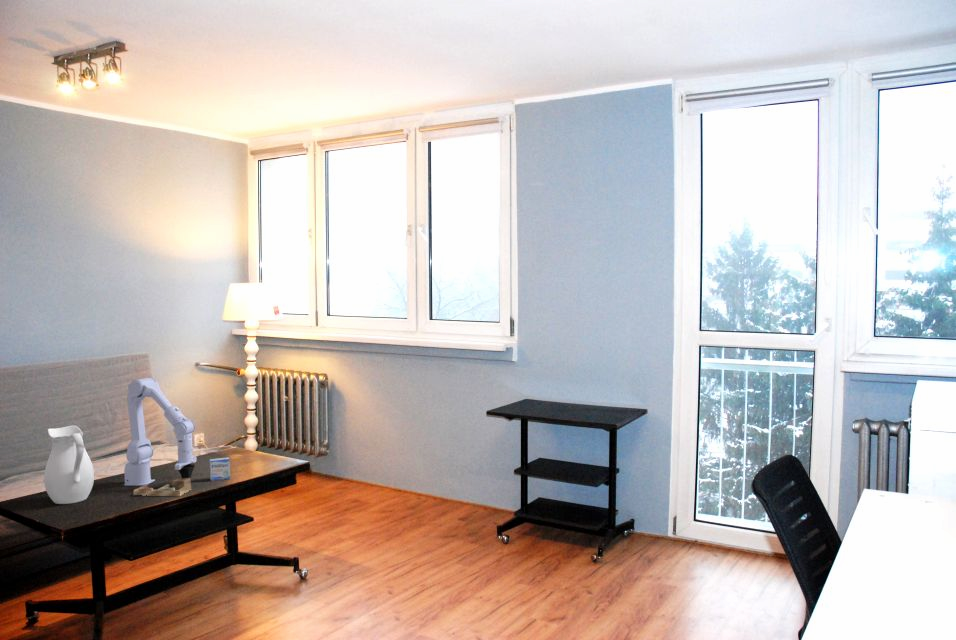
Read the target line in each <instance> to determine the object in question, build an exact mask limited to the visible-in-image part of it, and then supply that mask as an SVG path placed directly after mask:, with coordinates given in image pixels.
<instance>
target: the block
mask: <svg viewBox="0 0 956 640" xmlns="http://www.w3.org/2000/svg"><path fill="white" fill-rule="evenodd" d="M188 484H191V485H192V483H191V480H190V478H182V477H178V478H175V479H173V480H172V488H175V489H181V488H183V487H185V486H186V485H188Z"/></svg>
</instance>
